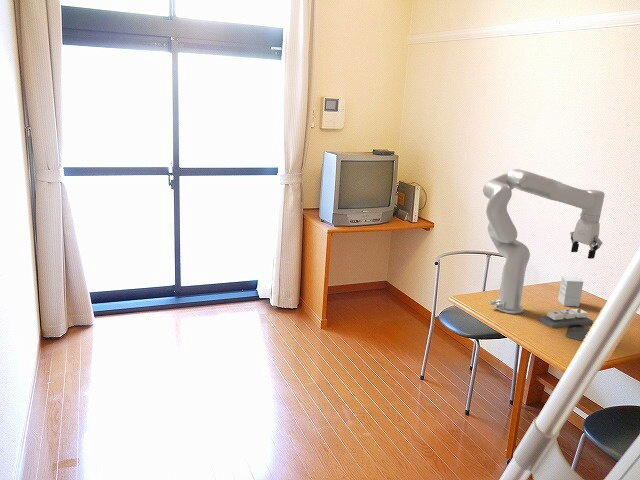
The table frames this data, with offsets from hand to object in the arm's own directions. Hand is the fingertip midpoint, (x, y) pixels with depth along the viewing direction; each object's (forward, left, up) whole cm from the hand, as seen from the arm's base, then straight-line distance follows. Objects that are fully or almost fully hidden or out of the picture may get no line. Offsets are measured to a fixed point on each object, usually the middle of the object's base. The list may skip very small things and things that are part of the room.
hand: (582, 255), depth 225 cm
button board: (-14, -12, -26) cm, 32 cm away
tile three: (-8, -12, -23) cm, 28 cm away
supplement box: (+3, +6, -26) cm, 27 cm away
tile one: (-20, -12, -23) cm, 33 cm away
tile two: (-14, -12, -23) cm, 30 cm away
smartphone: (-17, -22, -27) cm, 38 cm away
